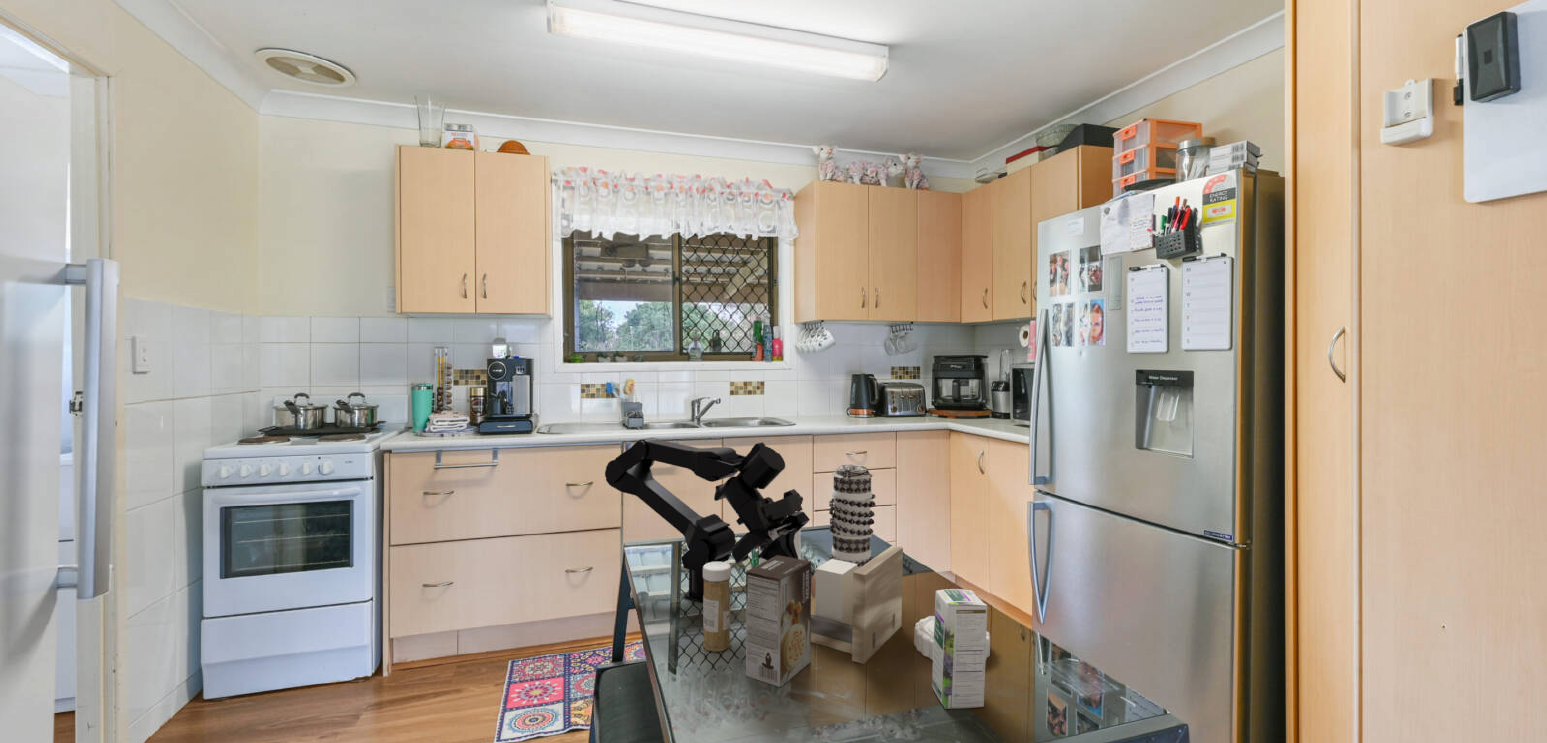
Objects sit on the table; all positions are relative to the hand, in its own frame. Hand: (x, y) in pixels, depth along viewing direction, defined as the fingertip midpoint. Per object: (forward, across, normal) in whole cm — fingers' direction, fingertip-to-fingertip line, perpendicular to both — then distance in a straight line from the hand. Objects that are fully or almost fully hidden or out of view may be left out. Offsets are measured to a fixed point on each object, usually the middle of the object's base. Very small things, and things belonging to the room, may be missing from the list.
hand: (800, 574), depth 115 cm
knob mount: (+14, 0, -2) cm, 14 cm away
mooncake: (+25, +5, -12) cm, 28 cm away
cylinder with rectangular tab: (-5, +18, +17) cm, 26 cm away
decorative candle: (+7, +18, +5) cm, 20 cm away
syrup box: (+28, -10, -16) cm, 34 cm away
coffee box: (+10, -17, +2) cm, 20 cm away
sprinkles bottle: (+1, -16, +11) cm, 19 cm away
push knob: (+10, 0, 0) cm, 10 cm away
